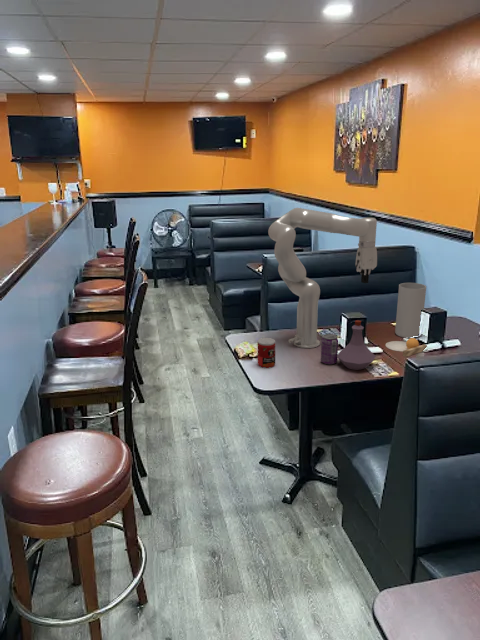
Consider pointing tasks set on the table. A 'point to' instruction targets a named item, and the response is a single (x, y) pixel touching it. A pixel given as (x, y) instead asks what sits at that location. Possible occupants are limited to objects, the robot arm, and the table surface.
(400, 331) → the cylinder vase
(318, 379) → the table surface
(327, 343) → the beverage can
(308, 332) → the robot arm
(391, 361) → the table surface
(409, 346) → the ball
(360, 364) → the flask
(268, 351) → the canned food
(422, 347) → the stopper rail
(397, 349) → the mark
